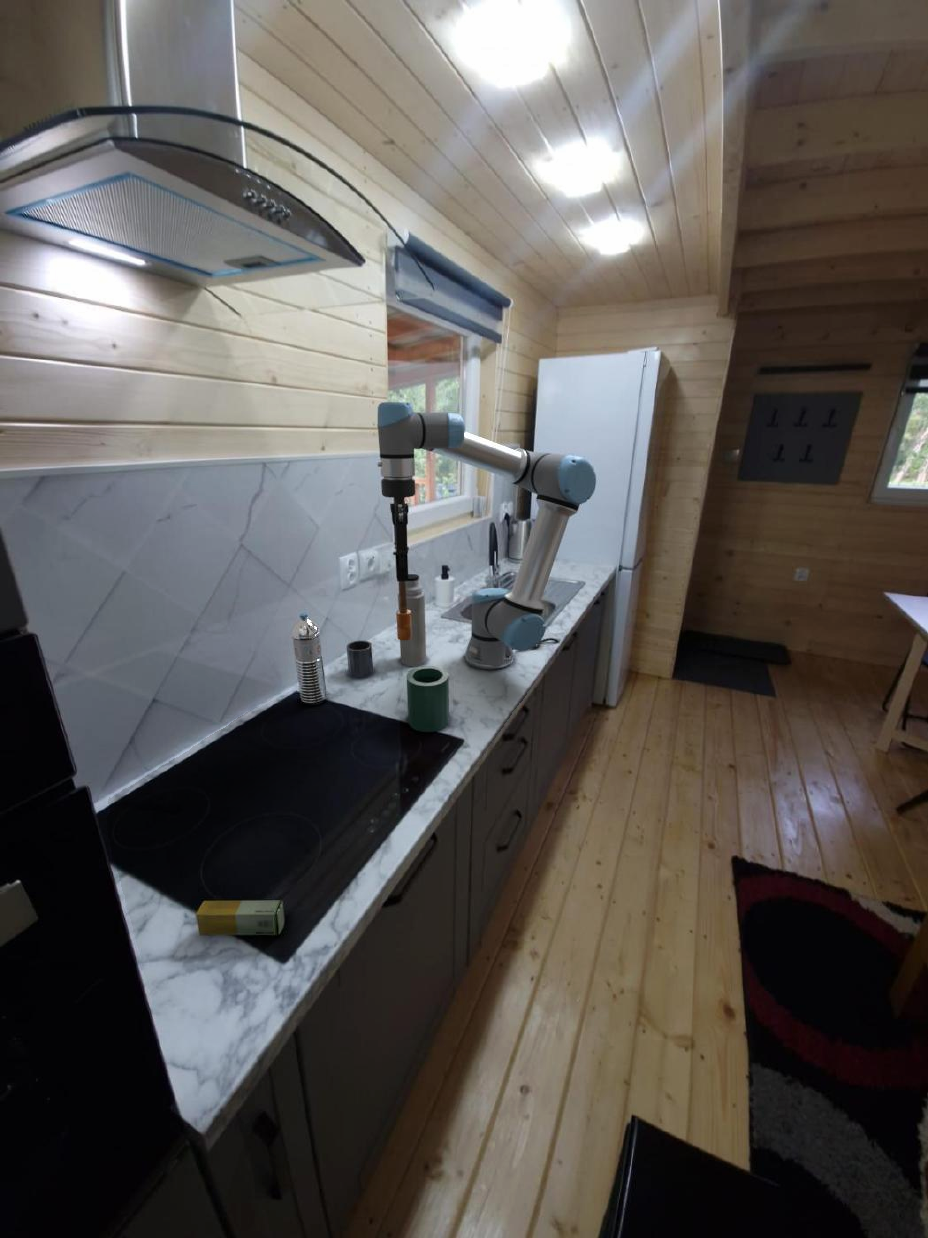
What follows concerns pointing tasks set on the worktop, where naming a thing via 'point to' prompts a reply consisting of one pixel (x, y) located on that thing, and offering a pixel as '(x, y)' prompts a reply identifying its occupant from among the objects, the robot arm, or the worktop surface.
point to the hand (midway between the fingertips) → (402, 578)
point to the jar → (428, 698)
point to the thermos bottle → (414, 624)
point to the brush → (403, 615)
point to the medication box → (241, 917)
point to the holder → (360, 659)
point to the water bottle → (309, 661)
